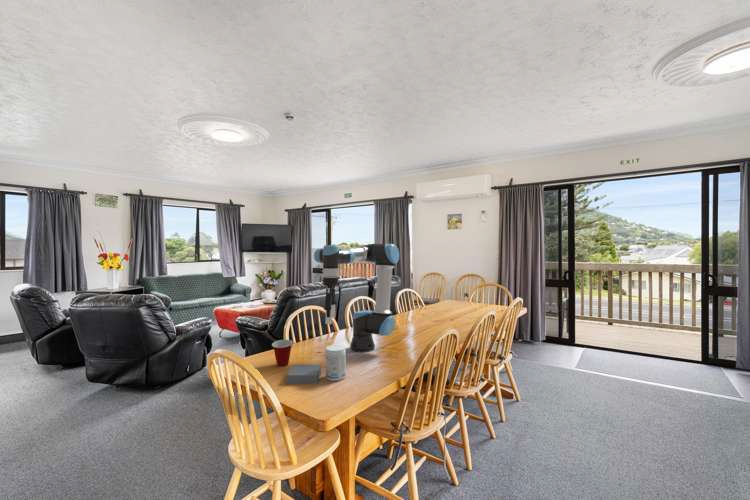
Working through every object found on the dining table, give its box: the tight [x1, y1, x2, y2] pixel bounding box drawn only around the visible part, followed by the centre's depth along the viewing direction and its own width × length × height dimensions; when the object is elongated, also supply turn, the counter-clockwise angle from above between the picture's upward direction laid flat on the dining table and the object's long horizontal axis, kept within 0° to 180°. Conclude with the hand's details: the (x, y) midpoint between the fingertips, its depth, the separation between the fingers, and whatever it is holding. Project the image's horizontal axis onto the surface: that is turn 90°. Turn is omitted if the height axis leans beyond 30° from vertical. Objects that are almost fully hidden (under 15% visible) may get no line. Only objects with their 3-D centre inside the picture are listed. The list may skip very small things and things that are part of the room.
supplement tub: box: [325, 344, 347, 382], centre depth 165 cm, size 10×10×15 cm
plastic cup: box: [271, 339, 294, 367], centre depth 183 cm, size 11×11×12 cm
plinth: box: [285, 364, 322, 385], centre depth 165 cm, size 14×14×4 cm
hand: (330, 320), depth 167 cm, fingers open, 13 cm apart
